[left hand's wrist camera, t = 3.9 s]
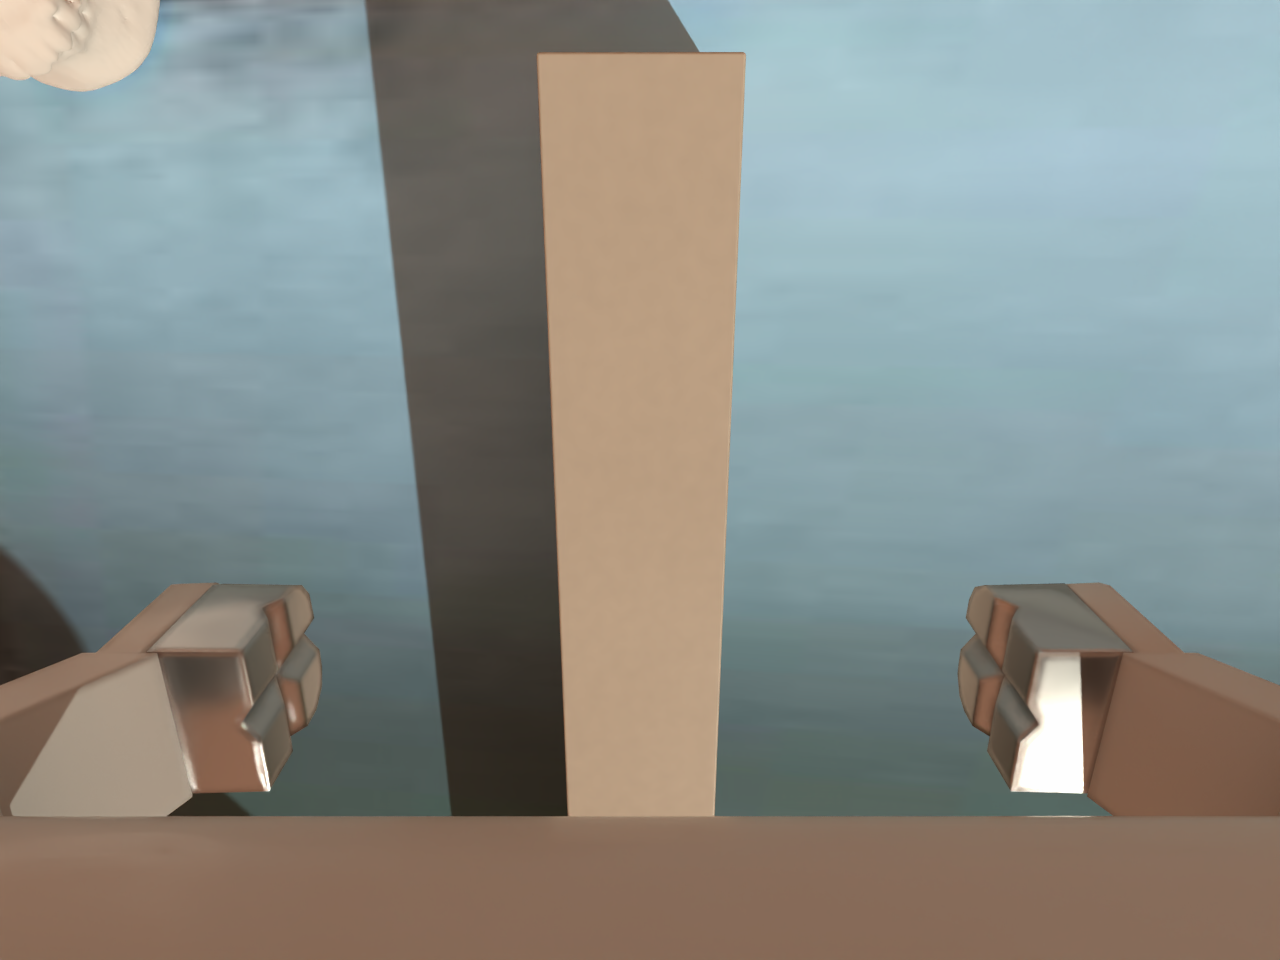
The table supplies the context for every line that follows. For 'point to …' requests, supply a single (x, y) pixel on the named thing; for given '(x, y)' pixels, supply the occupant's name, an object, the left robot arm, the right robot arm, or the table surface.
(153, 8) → the skull bowl
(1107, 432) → the table surface
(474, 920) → the left robot arm
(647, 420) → the beam
